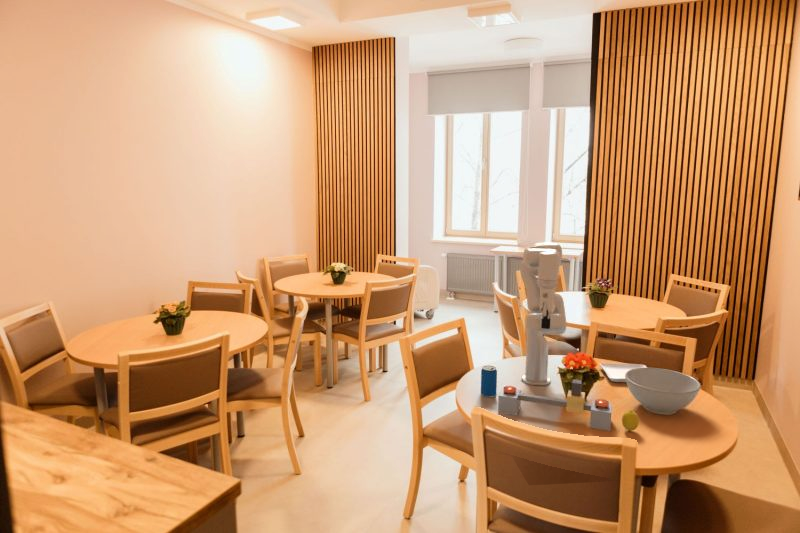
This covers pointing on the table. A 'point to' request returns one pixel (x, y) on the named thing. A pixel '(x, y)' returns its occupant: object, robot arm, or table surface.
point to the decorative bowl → (662, 389)
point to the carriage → (575, 398)
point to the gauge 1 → (510, 390)
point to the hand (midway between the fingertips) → (545, 327)
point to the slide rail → (512, 405)
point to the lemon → (630, 420)
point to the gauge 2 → (601, 403)
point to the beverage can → (488, 381)
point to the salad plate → (618, 370)
